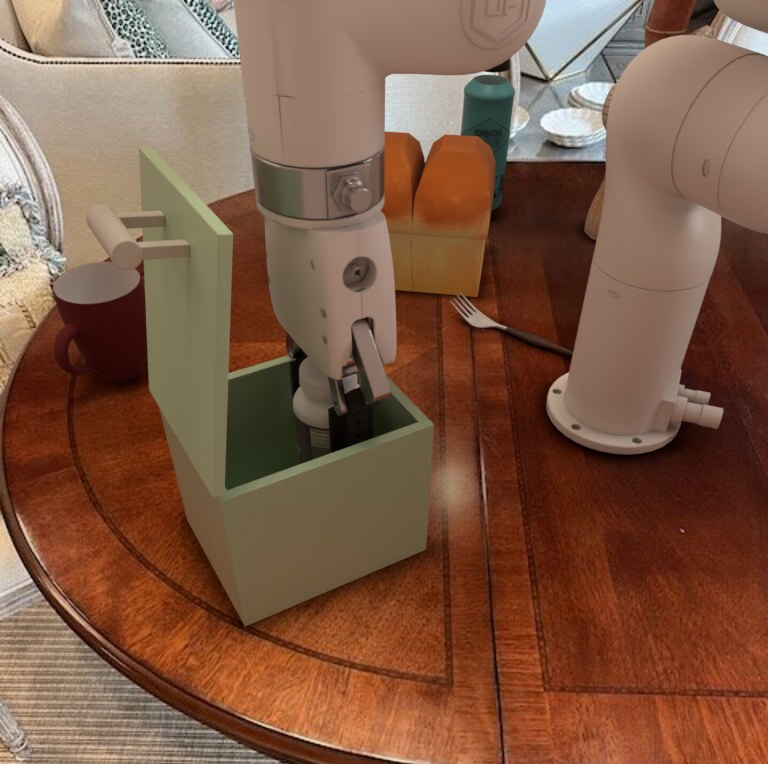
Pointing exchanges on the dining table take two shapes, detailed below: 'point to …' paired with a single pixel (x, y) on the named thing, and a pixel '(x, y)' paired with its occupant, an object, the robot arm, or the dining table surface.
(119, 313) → the mug
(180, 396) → the lid
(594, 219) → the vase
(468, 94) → the beverage bottle
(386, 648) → the dining table surface
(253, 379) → the caddy
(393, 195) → the bread
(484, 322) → the fork
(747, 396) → the dining table surface
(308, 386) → the pill bottle
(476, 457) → the dining table surface
